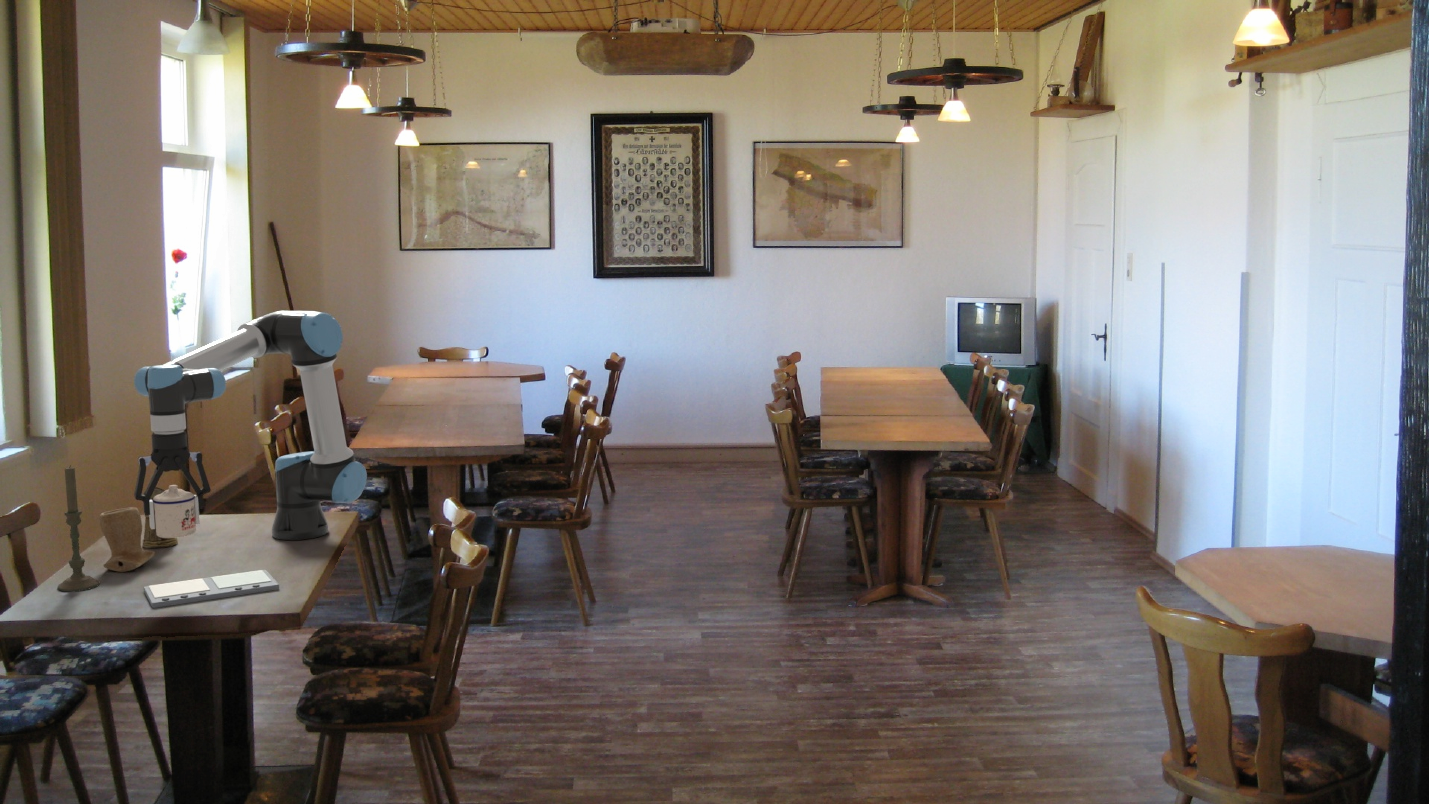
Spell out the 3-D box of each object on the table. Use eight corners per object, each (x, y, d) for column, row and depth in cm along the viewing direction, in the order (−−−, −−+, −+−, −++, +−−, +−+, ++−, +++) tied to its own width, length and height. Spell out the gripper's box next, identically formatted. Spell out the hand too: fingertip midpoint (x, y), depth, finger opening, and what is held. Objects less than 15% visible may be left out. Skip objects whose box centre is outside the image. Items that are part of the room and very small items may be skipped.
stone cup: (113, 558, 324) (109, 502, 322) (160, 557, 325) (156, 501, 323) (90, 574, 309) (86, 516, 307) (140, 573, 310) (135, 515, 308)
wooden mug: (139, 554, 328) (135, 488, 325) (143, 542, 341) (139, 478, 338) (176, 551, 331) (171, 485, 328) (178, 539, 344) (174, 476, 341)
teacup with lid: (189, 538, 286) (186, 489, 284) (149, 539, 285) (145, 490, 284) (206, 525, 298) (203, 478, 296) (167, 526, 297) (164, 479, 295)
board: (265, 574, 309) (265, 568, 309) (279, 589, 297) (278, 583, 296) (144, 591, 295) (143, 585, 295) (152, 608, 282) (152, 602, 282)
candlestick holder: (102, 587, 298) (93, 466, 294) (60, 594, 293) (50, 470, 288) (96, 578, 305) (87, 460, 301) (54, 585, 300) (45, 464, 296)
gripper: (215, 425, 296) (220, 516, 300) (115, 433, 285) (122, 527, 289) (221, 429, 290) (226, 522, 293) (119, 438, 279) (126, 534, 282)
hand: (174, 525), depth 291 cm, fingers closed on teacup with lid, 9 cm apart
